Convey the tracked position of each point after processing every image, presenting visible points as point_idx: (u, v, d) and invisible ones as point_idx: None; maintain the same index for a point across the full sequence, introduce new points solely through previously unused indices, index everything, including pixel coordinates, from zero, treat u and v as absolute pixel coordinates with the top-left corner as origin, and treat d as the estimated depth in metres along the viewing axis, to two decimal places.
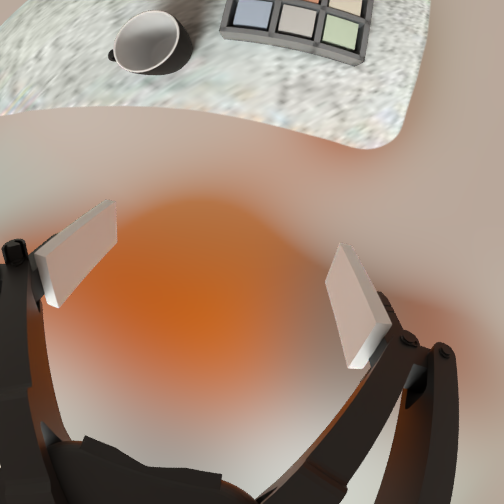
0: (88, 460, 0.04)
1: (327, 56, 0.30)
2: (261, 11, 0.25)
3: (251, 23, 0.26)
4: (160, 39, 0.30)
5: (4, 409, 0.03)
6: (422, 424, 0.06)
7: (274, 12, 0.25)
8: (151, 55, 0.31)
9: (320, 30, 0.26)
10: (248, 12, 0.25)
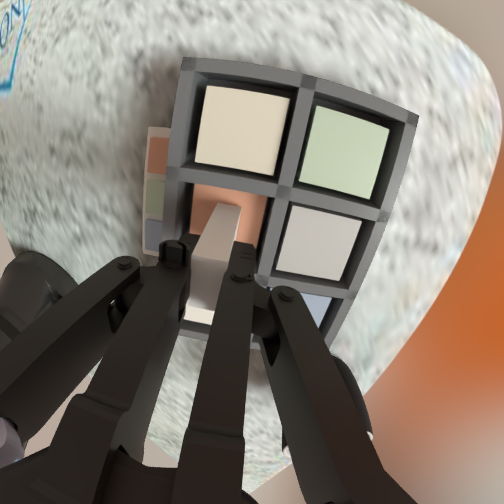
0: (88, 460, 0.04)
1: None
2: None
3: (318, 318, 0.20)
4: None
5: (82, 418, 0.04)
6: (293, 382, 0.07)
7: (300, 289, 0.18)
8: None
9: (350, 205, 0.15)
10: None
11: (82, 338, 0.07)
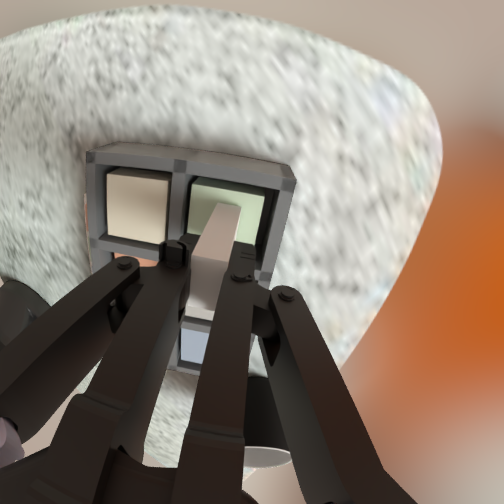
0: (88, 460, 0.04)
1: None
2: (202, 341, 0.22)
3: None
4: None
5: (82, 418, 0.04)
6: (294, 382, 0.07)
7: (203, 330, 0.21)
8: None
9: None
10: None
11: (82, 338, 0.07)
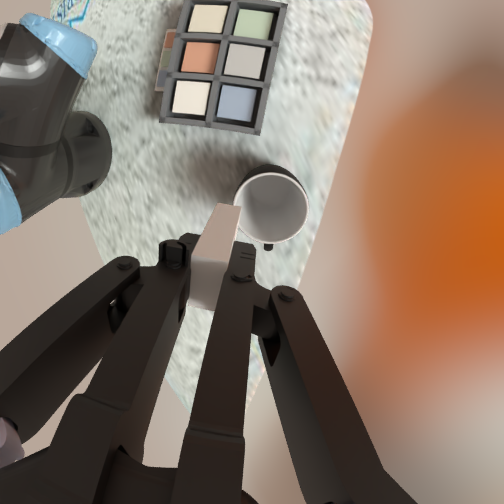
0: (88, 460, 0.04)
1: None
2: (235, 95, 0.31)
3: (251, 104, 0.32)
4: (251, 197, 0.41)
5: (82, 418, 0.04)
6: (294, 382, 0.07)
7: (236, 81, 0.29)
8: (268, 207, 0.41)
9: (256, 39, 0.26)
10: (236, 107, 0.32)
11: (82, 338, 0.07)
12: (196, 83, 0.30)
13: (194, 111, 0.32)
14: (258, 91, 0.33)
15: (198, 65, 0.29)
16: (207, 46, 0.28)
